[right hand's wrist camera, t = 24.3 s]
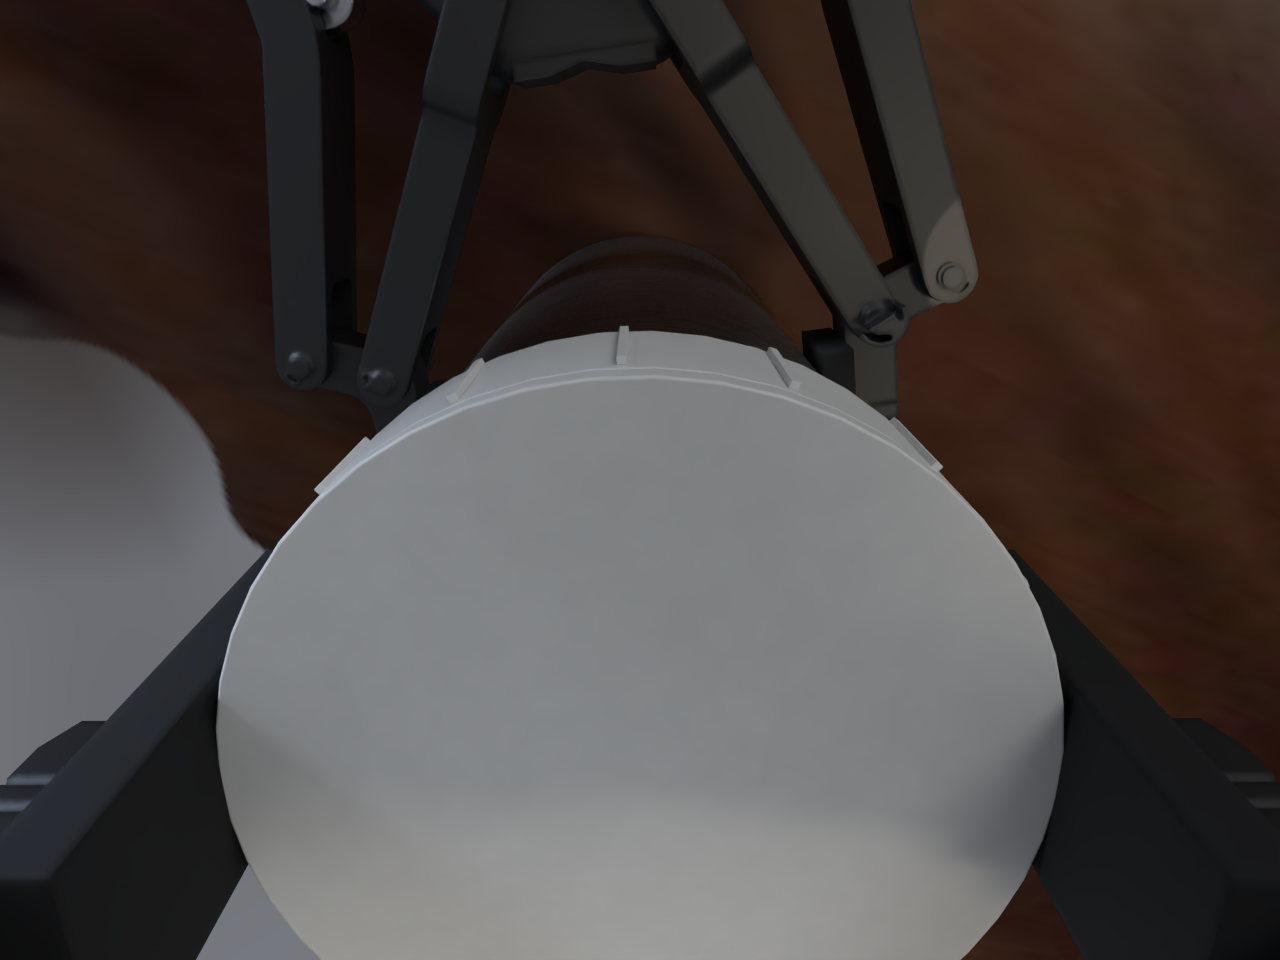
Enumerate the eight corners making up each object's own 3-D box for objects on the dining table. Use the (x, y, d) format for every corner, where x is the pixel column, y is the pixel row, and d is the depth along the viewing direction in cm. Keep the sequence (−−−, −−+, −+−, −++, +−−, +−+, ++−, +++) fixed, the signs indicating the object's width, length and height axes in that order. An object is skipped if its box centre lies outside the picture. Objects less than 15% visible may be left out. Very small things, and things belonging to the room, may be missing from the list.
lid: (204, 816, 14) (118, 947, 11) (424, 186, 10) (364, 195, 8) (785, 1012, 15) (811, 1164, 13) (1134, 510, 12) (1249, 594, 10)
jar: (487, 485, 31) (272, 954, 13) (518, 212, 27) (293, 325, 10) (747, 525, 31) (892, 1031, 13) (807, 262, 28) (1102, 457, 10)
